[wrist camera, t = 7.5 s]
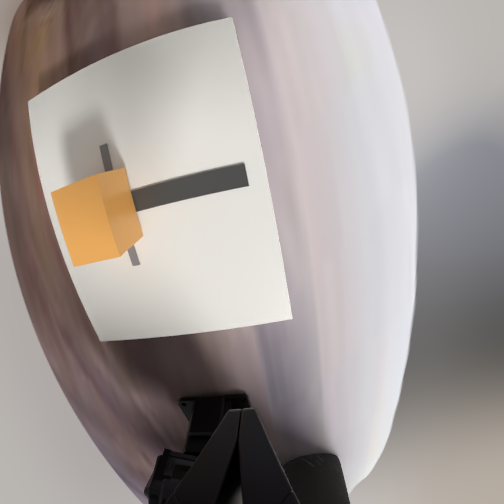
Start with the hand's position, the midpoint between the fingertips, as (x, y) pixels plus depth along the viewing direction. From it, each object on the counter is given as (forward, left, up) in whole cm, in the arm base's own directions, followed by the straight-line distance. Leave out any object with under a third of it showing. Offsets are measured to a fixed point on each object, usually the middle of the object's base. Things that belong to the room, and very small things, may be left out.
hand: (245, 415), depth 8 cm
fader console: (+6, +5, -12) cm, 14 cm away
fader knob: (+6, +7, -9) cm, 13 cm away
